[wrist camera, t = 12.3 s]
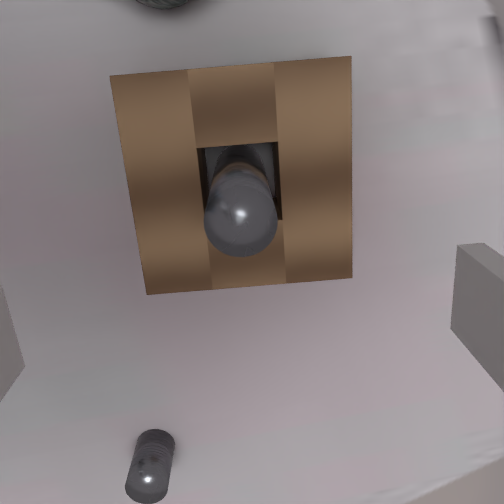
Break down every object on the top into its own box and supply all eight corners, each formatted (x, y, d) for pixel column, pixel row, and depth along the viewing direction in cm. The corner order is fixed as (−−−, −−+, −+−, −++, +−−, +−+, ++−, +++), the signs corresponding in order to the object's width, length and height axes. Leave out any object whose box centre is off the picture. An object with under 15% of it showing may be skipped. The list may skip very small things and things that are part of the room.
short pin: (134, 430, 44) (121, 473, 39) (172, 427, 44) (164, 470, 39) (140, 460, 45) (128, 505, 40) (177, 457, 45) (170, 502, 40)
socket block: (131, 75, 33) (109, 75, 28) (332, 58, 33) (351, 55, 28) (160, 262, 38) (146, 294, 33) (335, 247, 38) (352, 278, 33)
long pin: (213, 146, 35) (199, 189, 22) (261, 142, 35) (275, 183, 22) (218, 192, 36) (207, 260, 23) (264, 188, 36) (279, 254, 23)
